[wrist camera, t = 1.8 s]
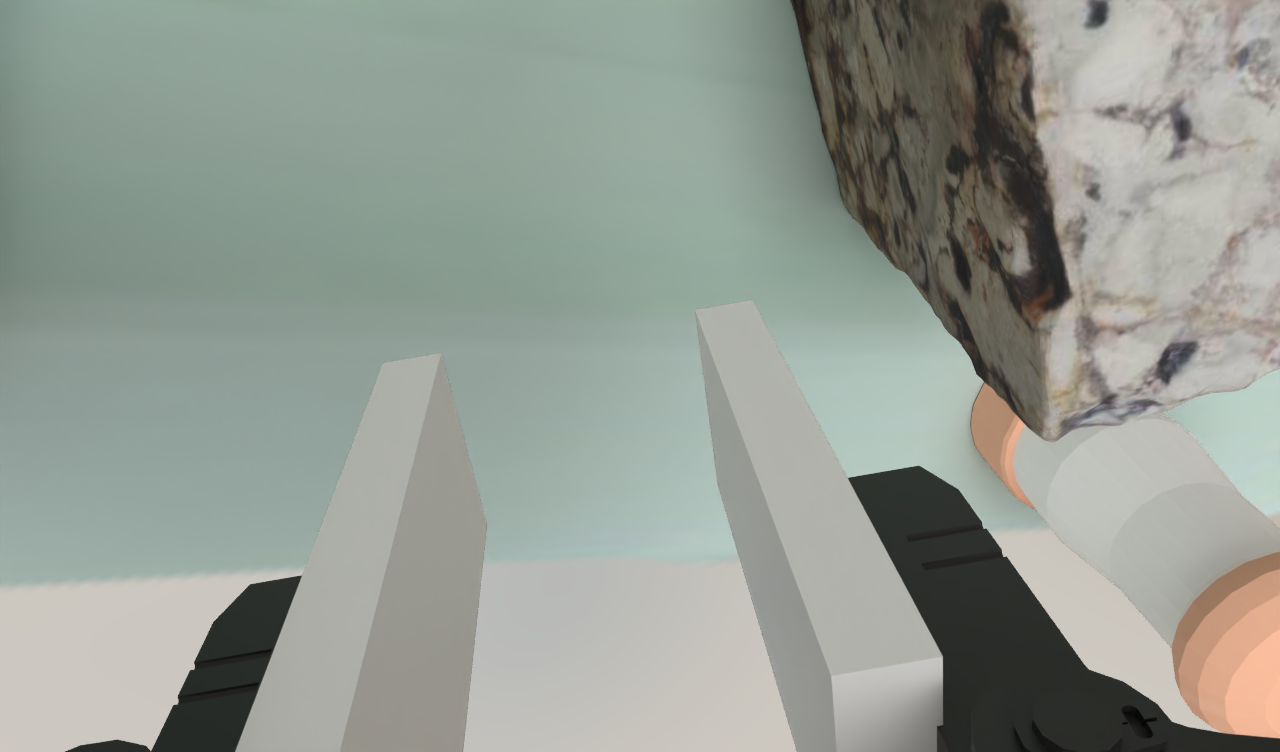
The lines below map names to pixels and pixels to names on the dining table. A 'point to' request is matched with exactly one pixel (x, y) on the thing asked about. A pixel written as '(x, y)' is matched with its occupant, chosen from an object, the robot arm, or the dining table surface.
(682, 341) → the dining table surface
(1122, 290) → the stone block
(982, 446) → the salt shaker
